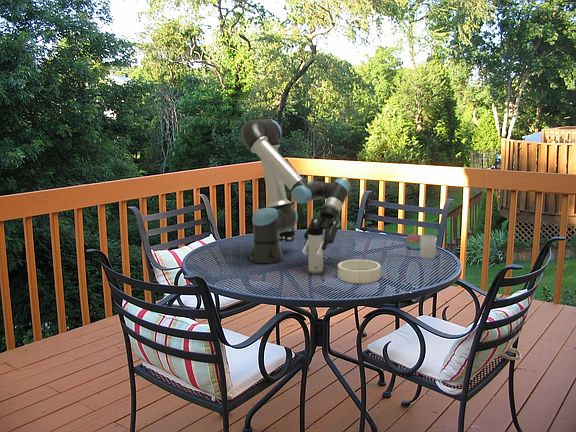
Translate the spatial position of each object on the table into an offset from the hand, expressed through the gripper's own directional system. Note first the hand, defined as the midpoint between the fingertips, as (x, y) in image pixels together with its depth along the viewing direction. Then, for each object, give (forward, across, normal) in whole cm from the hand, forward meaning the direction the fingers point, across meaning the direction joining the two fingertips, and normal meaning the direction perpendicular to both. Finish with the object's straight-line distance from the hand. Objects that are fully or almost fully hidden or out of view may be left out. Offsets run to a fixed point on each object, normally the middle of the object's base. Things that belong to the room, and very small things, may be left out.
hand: (311, 254), depth 226 cm
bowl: (+1, -19, -11) cm, 22 cm away
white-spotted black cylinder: (-26, +45, -38) cm, 65 cm away
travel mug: (+4, 0, -9) cm, 9 cm away
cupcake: (-38, -19, -50) cm, 66 cm away
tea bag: (-30, -31, -42) cm, 60 cm away
